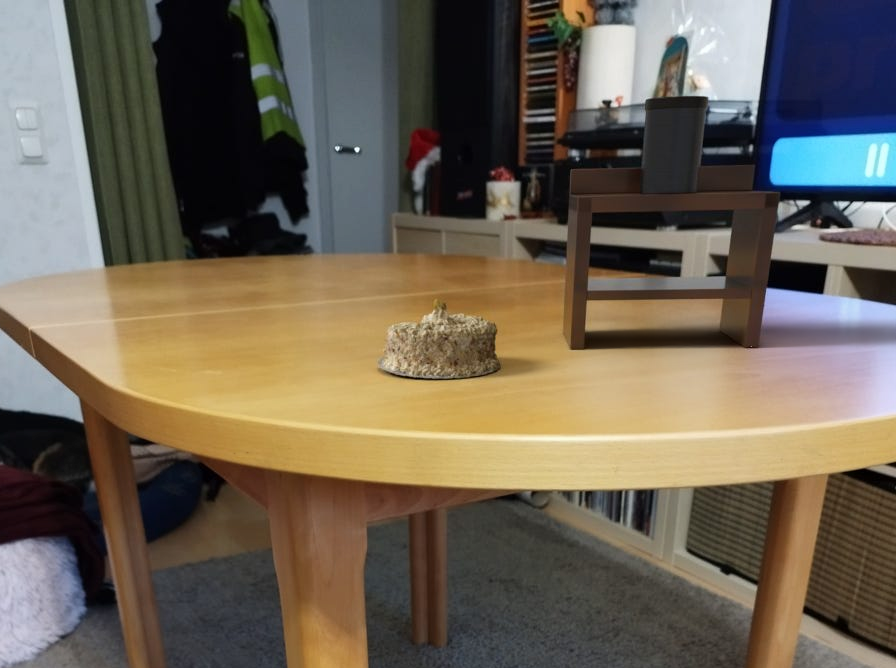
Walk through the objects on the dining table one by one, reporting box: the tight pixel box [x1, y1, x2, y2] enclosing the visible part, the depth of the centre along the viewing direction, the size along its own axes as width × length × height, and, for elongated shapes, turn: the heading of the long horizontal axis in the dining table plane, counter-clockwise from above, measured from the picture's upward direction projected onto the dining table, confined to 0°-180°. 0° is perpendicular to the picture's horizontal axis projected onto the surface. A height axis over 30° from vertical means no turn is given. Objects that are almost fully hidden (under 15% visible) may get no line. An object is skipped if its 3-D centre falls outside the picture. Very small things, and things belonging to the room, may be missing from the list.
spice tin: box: [639, 95, 709, 194], centre depth 77 cm, size 5×5×7 cm
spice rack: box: [562, 164, 781, 350], centre depth 81 cm, size 16×10×14 cm, turn 86°
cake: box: [376, 298, 502, 380], centre depth 73 cm, size 10×10×5 cm
